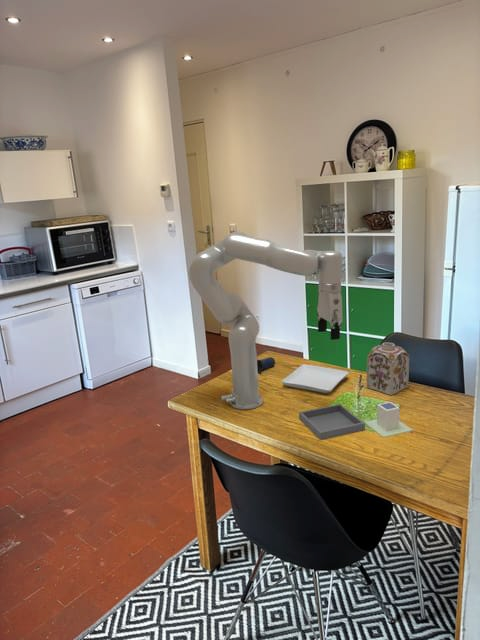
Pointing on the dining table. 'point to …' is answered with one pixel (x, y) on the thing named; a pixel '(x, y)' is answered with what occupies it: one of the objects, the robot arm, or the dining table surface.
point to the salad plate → (315, 378)
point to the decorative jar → (387, 369)
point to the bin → (331, 421)
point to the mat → (383, 433)
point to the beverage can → (265, 363)
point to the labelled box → (388, 416)
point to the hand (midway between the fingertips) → (328, 335)
